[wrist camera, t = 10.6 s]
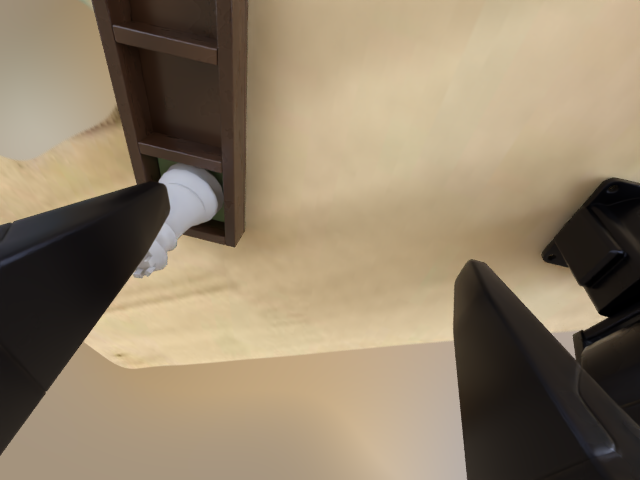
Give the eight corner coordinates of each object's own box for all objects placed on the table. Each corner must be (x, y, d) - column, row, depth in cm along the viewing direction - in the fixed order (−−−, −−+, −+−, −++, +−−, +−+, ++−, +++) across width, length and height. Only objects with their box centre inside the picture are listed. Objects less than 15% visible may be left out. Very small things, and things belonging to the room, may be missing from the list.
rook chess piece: (239, 197, 24) (184, 276, 18) (200, 220, 26) (140, 297, 20) (193, 147, 22) (115, 217, 16) (156, 176, 24) (74, 247, 18)
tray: (249, -128, 13) (229, -141, 12) (245, 231, 26) (235, 247, 25) (87, -163, 14) (46, -179, 12) (161, 210, 27) (146, 225, 25)
